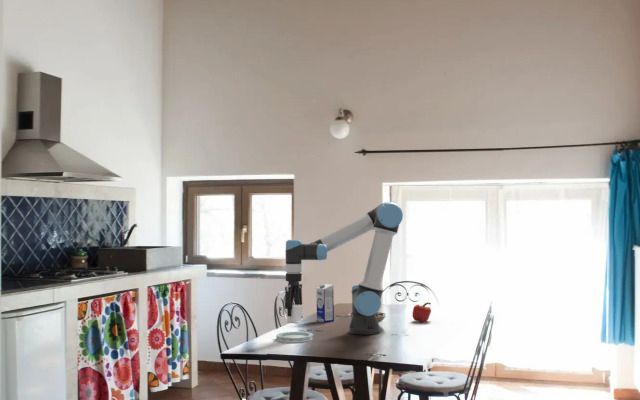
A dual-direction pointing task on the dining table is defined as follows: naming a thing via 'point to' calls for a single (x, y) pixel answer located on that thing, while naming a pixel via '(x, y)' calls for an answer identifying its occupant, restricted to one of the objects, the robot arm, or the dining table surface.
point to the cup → (296, 313)
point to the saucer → (294, 337)
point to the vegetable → (421, 312)
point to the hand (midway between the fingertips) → (293, 321)
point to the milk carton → (325, 303)
